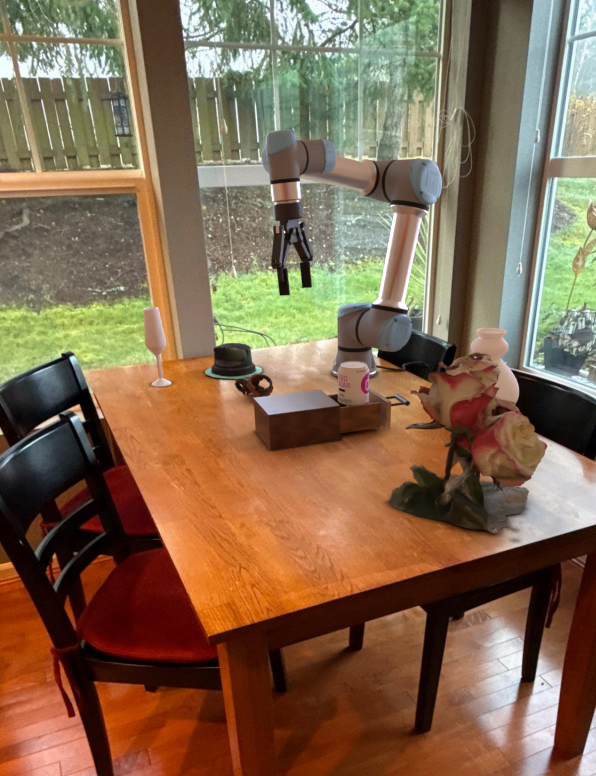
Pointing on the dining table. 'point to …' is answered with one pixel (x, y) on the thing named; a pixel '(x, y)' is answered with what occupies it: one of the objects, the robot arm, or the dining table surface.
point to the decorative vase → (497, 360)
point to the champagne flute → (155, 339)
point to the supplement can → (353, 383)
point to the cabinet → (297, 419)
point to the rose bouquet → (473, 450)
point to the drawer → (368, 412)
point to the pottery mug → (254, 386)
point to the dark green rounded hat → (233, 362)
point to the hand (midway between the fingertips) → (296, 291)
